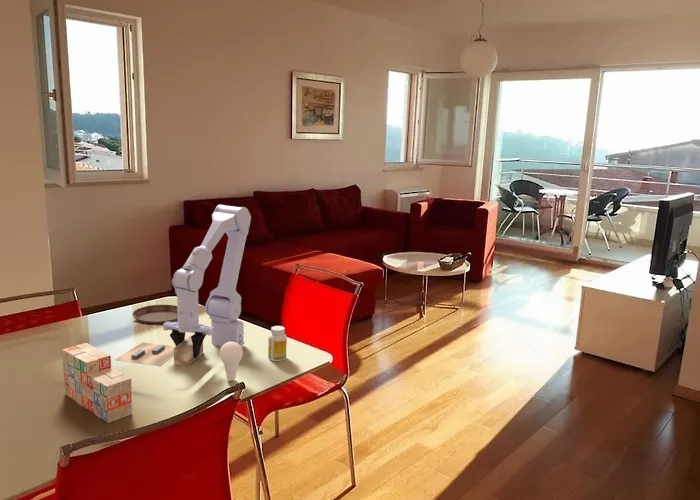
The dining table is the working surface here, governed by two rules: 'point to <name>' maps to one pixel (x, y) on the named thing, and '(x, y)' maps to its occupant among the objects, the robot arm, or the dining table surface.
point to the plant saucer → (156, 314)
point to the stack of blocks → (96, 382)
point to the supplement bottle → (277, 344)
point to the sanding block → (185, 352)
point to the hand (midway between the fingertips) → (188, 355)
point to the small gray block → (158, 349)
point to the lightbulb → (231, 358)
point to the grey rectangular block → (138, 354)
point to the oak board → (149, 354)
